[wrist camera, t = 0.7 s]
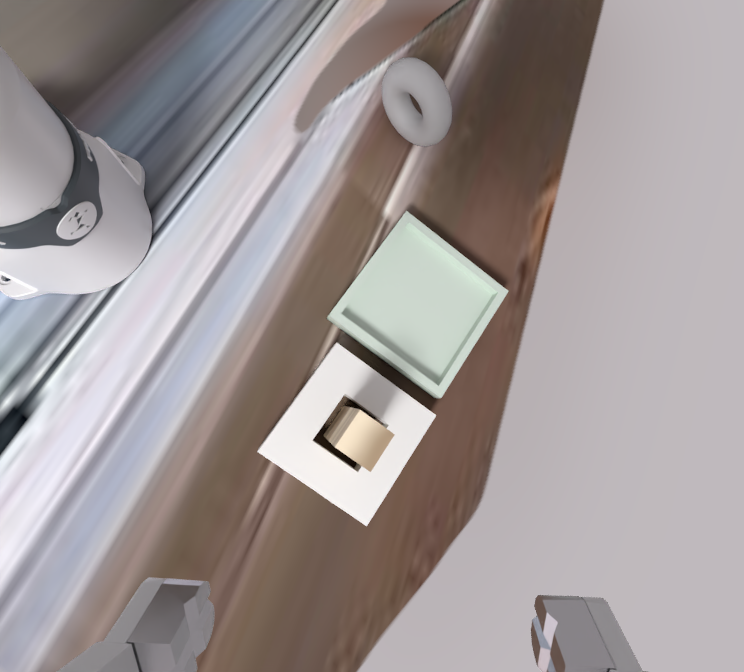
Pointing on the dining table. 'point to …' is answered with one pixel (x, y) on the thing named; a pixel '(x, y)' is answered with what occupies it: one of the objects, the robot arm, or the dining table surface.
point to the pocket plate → (320, 466)
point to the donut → (428, 94)
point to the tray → (419, 305)
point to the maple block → (358, 436)
